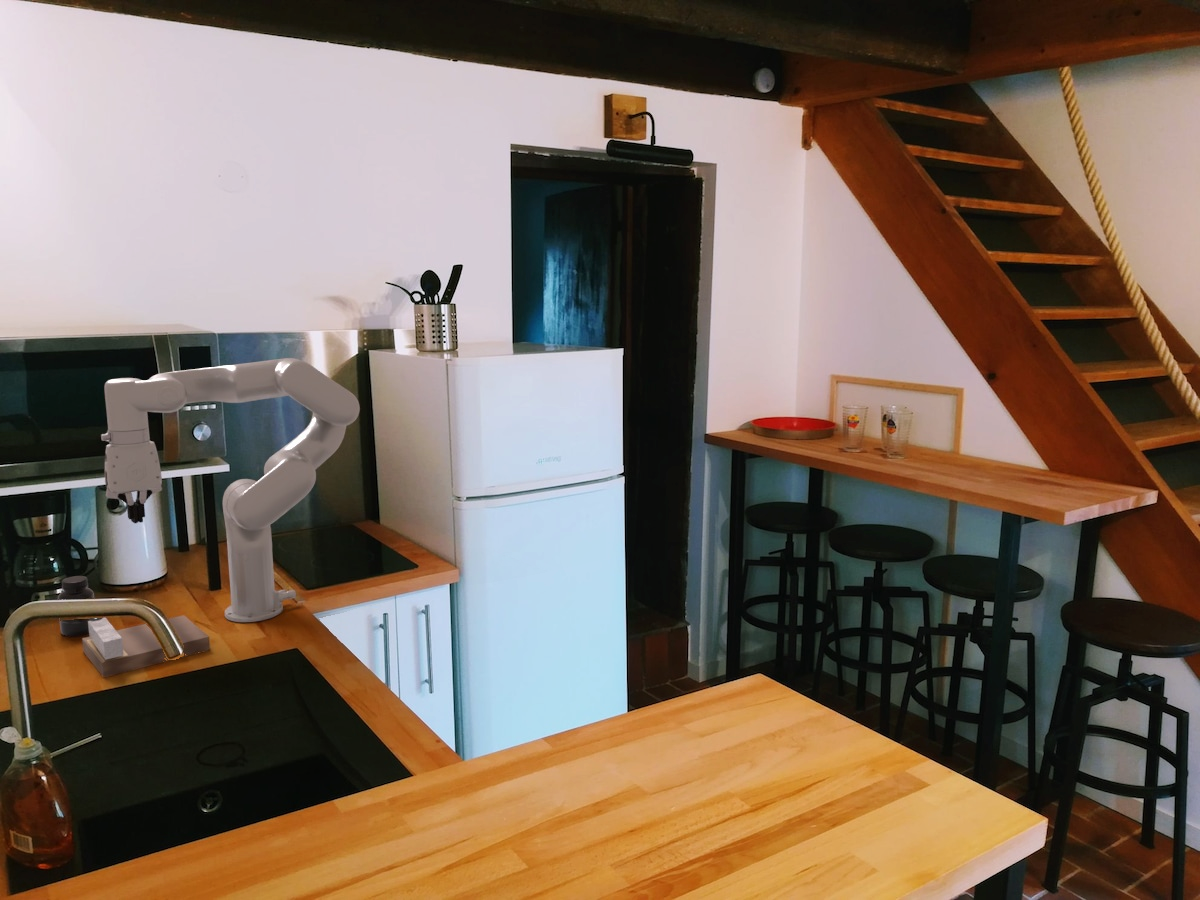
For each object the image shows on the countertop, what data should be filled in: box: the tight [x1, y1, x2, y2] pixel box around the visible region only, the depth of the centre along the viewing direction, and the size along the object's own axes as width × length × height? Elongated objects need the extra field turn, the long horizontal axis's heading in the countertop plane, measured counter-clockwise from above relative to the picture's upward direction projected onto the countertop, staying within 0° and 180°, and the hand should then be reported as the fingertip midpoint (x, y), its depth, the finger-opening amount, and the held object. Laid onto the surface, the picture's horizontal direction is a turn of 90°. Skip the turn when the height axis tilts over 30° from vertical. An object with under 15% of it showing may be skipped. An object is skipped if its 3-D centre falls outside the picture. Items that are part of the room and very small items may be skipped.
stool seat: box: [81, 614, 211, 678], centre depth 183 cm, size 20×16×3 cm
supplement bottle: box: [57, 575, 95, 637], centre depth 193 cm, size 7×7×12 cm
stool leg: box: [88, 617, 124, 660], centre depth 177 cm, size 16×3×4 cm, turn 41°
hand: (137, 521), depth 189 cm, fingers closed
